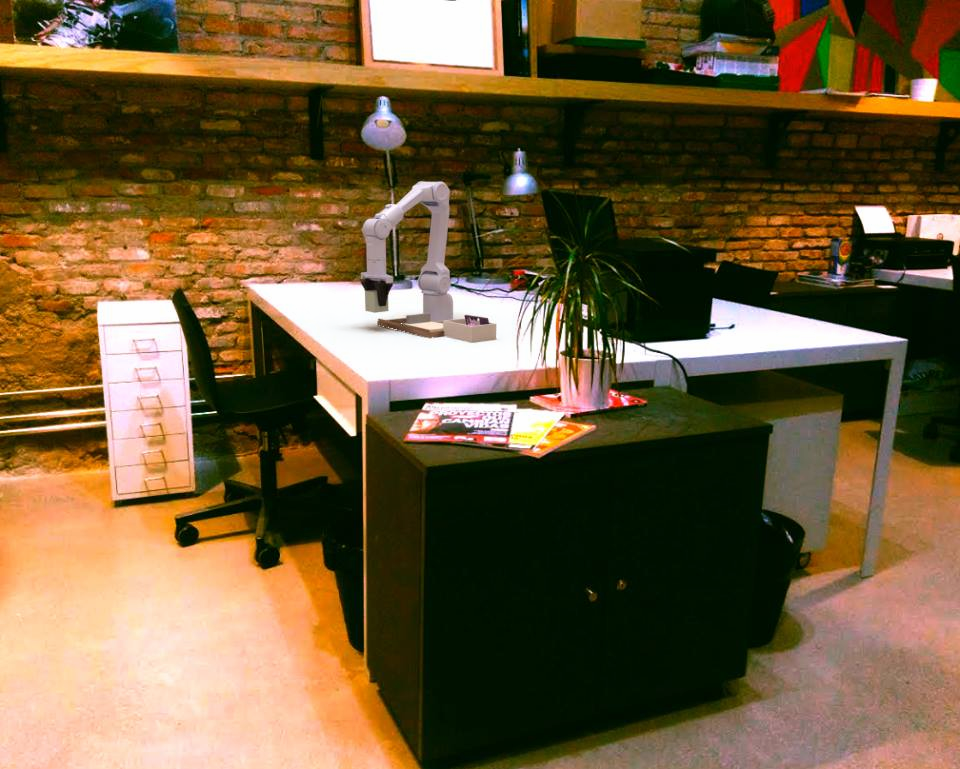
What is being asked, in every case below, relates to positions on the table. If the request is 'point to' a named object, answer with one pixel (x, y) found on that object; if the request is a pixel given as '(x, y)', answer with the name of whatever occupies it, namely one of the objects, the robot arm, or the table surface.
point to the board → (409, 327)
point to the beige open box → (469, 330)
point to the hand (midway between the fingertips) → (377, 304)
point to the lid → (423, 322)
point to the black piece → (482, 320)
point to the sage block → (373, 302)
